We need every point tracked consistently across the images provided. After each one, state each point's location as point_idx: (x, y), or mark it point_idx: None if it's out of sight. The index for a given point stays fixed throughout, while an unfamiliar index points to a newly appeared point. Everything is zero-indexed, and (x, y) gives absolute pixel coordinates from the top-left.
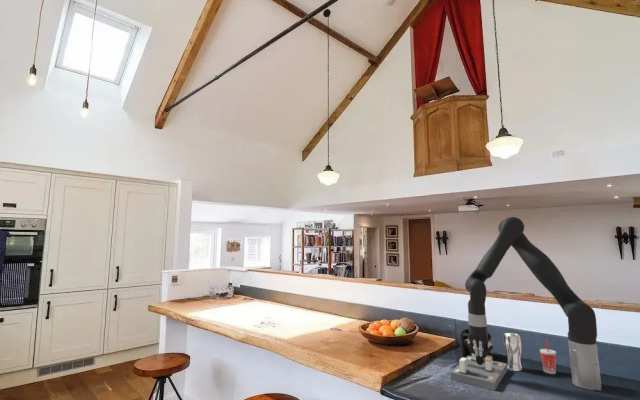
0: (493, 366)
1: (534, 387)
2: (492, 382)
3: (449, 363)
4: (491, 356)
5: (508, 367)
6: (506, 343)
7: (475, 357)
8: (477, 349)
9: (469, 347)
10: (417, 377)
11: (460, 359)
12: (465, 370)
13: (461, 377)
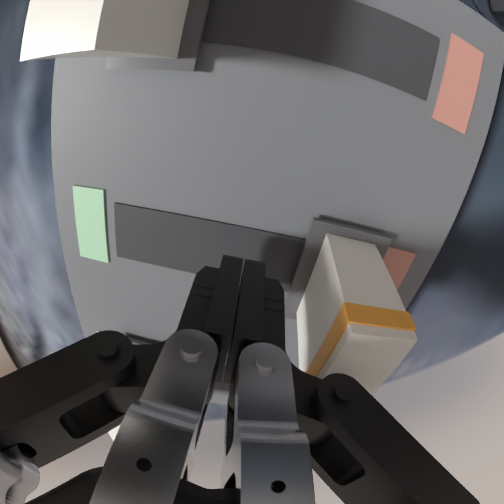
0: (387, 158)
1: None
2: None
3: (8, 99)
4: (405, 348)
5: (481, 2)
6: None
7: (150, 55)
8: (191, 467)
9: (70, 438)
10: (26, 345)
11: (114, 438)
12: None
13: None
